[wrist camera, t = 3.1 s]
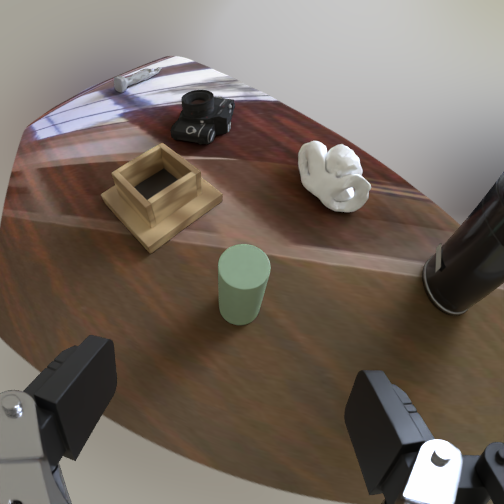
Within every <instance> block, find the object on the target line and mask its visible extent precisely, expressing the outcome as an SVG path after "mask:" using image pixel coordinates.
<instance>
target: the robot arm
mask: <svg viewBox="0 0 504 504" xmlns="http://www.w3.org/2000/svg"><path fill="white" fill-rule="evenodd" d="M423 283H424V287H425V290H426V292H427V295H428V296H429V298H430V300H431V301H432V302H433V304H434V305H435V306H436V307H437V308H438V309H440V310H441V311H443V312H444V313H446V314H449V315H460V314H462V313H464V312H466V311H467V310H468V309H469V308H470V307H471V306H473V305H474V304H476V303H477V302H478V301H480V300H481V299H483V298H484V297H486V296H487V295H488V294H490V293H491V292H492V291H494V290H495V289H496V288H498V287H499V286H500V285H501V284H503V283H504V172H503V173H502V175H501V176H500V177H499V179H498V180H497V182H496V183H495V184H494V185H493V187H492V188H491V189H490V190H489V192H488V193H487V194H486V196H485V197H484V198H483V199H482V201H481V202H480V203H479V205H478V206H477V207H476V208H475V209H474V210H473V212H472V213H471V214H470V215H469V216H468V218H467V219H466V220H465V221H464V222H463V223H462V225H461V226H460V227H459V228H458V229H457V230H456V231H455V233H454V234H453V235H452V236H451V237H450V238H449V239H448V240H447V241H446V243H445V244H444V245H443V246H442V247H441V244H440V245H439V246H438V247H437V248H436V253H435V254H434V255H433V256H432V257H431V258H430V259H429V260H428V261H427V262H426V263H425V265H424V268H423ZM116 386H117V373H116V364H115V353H114V344H113V341H112V340H110V339H106V338H102V337H98V336H94V335H89V336H88V337H87V338H86V339H85V340H84V341H83V342H82V343H81V344H80V345H79V346H72V347H70V348H68V349H66V350H64V351H62V352H61V353H60V354H59V355H58V356H57V357H56V358H55V359H54V361H52V362H51V363H50V364H49V365H48V366H47V368H45V369H44V370H43V371H42V372H41V373H40V374H39V375H38V376H37V377H36V378H35V380H34V381H32V383H31V384H30V385H29V386H28V387H27V388H26V389H25V390H24V391H19V390H8V391H5V392H2V393H0V504H72V503H71V500H70V497H69V494H68V491H67V488H66V485H65V482H64V478H63V475H62V471H61V468H60V465H59V461H60V459H61V458H62V456H64V457H67V458H70V459H72V460H74V461H76V459H77V457H78V456H79V454H80V452H81V450H82V448H83V446H84V445H85V443H86V441H87V440H88V438H89V436H90V434H91V433H92V431H93V429H94V428H95V426H96V424H97V422H98V421H99V419H100V417H101V416H102V414H103V412H104V411H105V409H106V407H107V406H108V404H109V402H110V400H111V399H112V397H113V395H114V393H115V390H116ZM344 418H345V424H346V427H347V430H348V433H349V435H350V438H351V441H352V444H353V447H354V450H355V453H356V456H357V459H358V462H359V465H360V468H361V471H362V474H363V477H364V480H365V483H366V486H367V489H368V492H369V495H375V494H381V493H383V494H384V497H385V499H384V500H383V502H382V503H381V504H486V503H487V502H488V501H489V500H490V499H492V501H493V503H494V504H504V443H501V442H495V443H491V444H489V445H488V446H487V447H486V449H485V450H484V452H483V453H482V454H481V456H473V455H462V454H461V452H460V450H459V449H458V448H457V447H456V446H454V445H453V444H451V443H449V442H447V441H444V440H435V439H434V437H433V435H432V434H431V432H430V430H429V429H428V427H427V426H426V424H425V422H424V421H423V419H422V418H421V416H420V415H419V413H417V410H416V408H415V407H414V405H412V402H411V401H410V399H409V397H408V396H407V394H406V393H405V392H404V391H402V390H401V389H400V388H399V387H397V386H396V385H395V384H391V383H390V381H389V380H388V378H387V376H386V375H385V373H384V372H383V371H381V370H361V371H359V373H358V374H357V376H356V379H355V382H354V385H353V388H352V391H351V393H350V396H349V399H348V402H347V404H346V407H345V415H344Z"/></svg>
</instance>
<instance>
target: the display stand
mask: <svg viewBox="0 0 504 504" xmlns="http://www.w3.org/2000/svg"><path fill="white" fill-rule="evenodd" d="M112 177H113V180H114V183H115V185H114V186H113V187H111V188H110V189H108V190H107V191H105V192H104V193H102V194H101V196H102V199H103V201H104V203H105V204H106V205H107V206H108V207H109V208H110V209H111V211H112V212H113V213H114V214H115V215H116V216H117V218H118V219H119V220H120V221H121V222H122V223H123V224H124V225H125V227H126V228H127V229H128V230H129V231H130V232H131V233H132V234H133V235H134V237H135V238H136V239H137V240H138V241H139V242H140V243H141V244H142V245H143V246H144V248H145V249H146V250H147V251H148V252H149V253H150V254H151V253H153V252H154V251H155V250H157V249H158V248H159V247H161V246H162V245H163V244H165V243H166V242H167V241H168V240H170V239H171V238H172V237H174V236H175V235H177V234H178V233H179V232H181V231H182V230H183V229H185V228H186V227H187V226H189V225H190V224H191V223H193V222H194V221H195V220H197V219H198V218H200V217H201V216H202V215H204V214H205V213H207V212H208V211H209V210H211V209H212V208H213V207H215V206H216V205H218V204H219V203H221V202H222V193H221V192H219V191H218V190H217V189H216V188H214V187H213V186H212V185H210V184H209V183H208V182H206V181H205V180H204V179H203V178H201V171H200V170H198V169H197V168H196V167H194V166H193V165H192V164H190V163H189V162H188V161H186V160H185V159H184V158H182V157H181V156H180V155H178V154H177V153H176V152H174V151H173V150H171V149H170V148H169V147H167V146H166V145H165V144H163V143H161V144H159V145H157V146H155V147H154V148H152V149H150V150H148V151H147V152H145V153H143V154H141V155H140V156H138V157H136V158H135V159H133V160H131V161H130V162H128V163H126V164H125V165H123V166H122V167H120V168H118V169H117V170H115V171H114V172H112Z"/></svg>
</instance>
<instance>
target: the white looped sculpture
mask: <svg viewBox="0 0 504 504" xmlns="http://www.w3.org/2000/svg"><path fill="white" fill-rule="evenodd" d="M298 158H299V159H298V166H299V171H300V176H301V182H302V184H303V186H304V187H305V188H306V189H307V190H308V191H310V192H311V193H312V194H313V195H315V196H316V197H318V198H319V199H320V200H321V202H322V203H323V204H324V205H325V206H326V207H327V208H329V209H331V210H333V211H335V212H337V211H340V212H354V211H356V210H358V209H359V208H361V207H362V206H363V205H364V204H365V202H366V201H367V199H368V196H369V190H370V189H371V185H370V183H369V182H367V181H366V179H365V178H363V177H362V176H361V175H362V172H363V170H362V167H361V166H360V159H359V158H358V156H357V155H356V154H355V153H354V151H353V150H351V149H349V148H348V146H344V145H343V144H340V145H337V146H335V147H333V148H331V149H330V150H329V152H328V153H327V149H326V146H325V145H324V144H322V143H320V142H318V141H312V142H310V143H306V144H304V145H303V146H302V147H301V149H300V151H299V153H298ZM353 188H354V189H355V193H354V190H353Z"/></svg>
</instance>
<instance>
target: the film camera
mask: <svg viewBox="0 0 504 504" xmlns="http://www.w3.org/2000/svg"><path fill="white" fill-rule="evenodd" d="M182 107H183V110H182V111H181V114H180V117H179V119H178V120H177V121H176V122H175V124H174V125H173V126H172V128H171V130H170V131H171V136H172V138H173V139H174V140H184V141H190V142H196V143H199V144H210V143H211V142H213V140H214V137H215V135H220V134H225V133H227V132H229V129H231V122H230V120H231V118H232V115H233V110H234V108H235V103H234V100H231V99H224V98H222V97H217V98H216V96H214V97H213V94H212V93H211V92H209V91H206V90H196V91H191V92H188V93H186V94H185V95H183V97H182Z"/></svg>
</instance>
